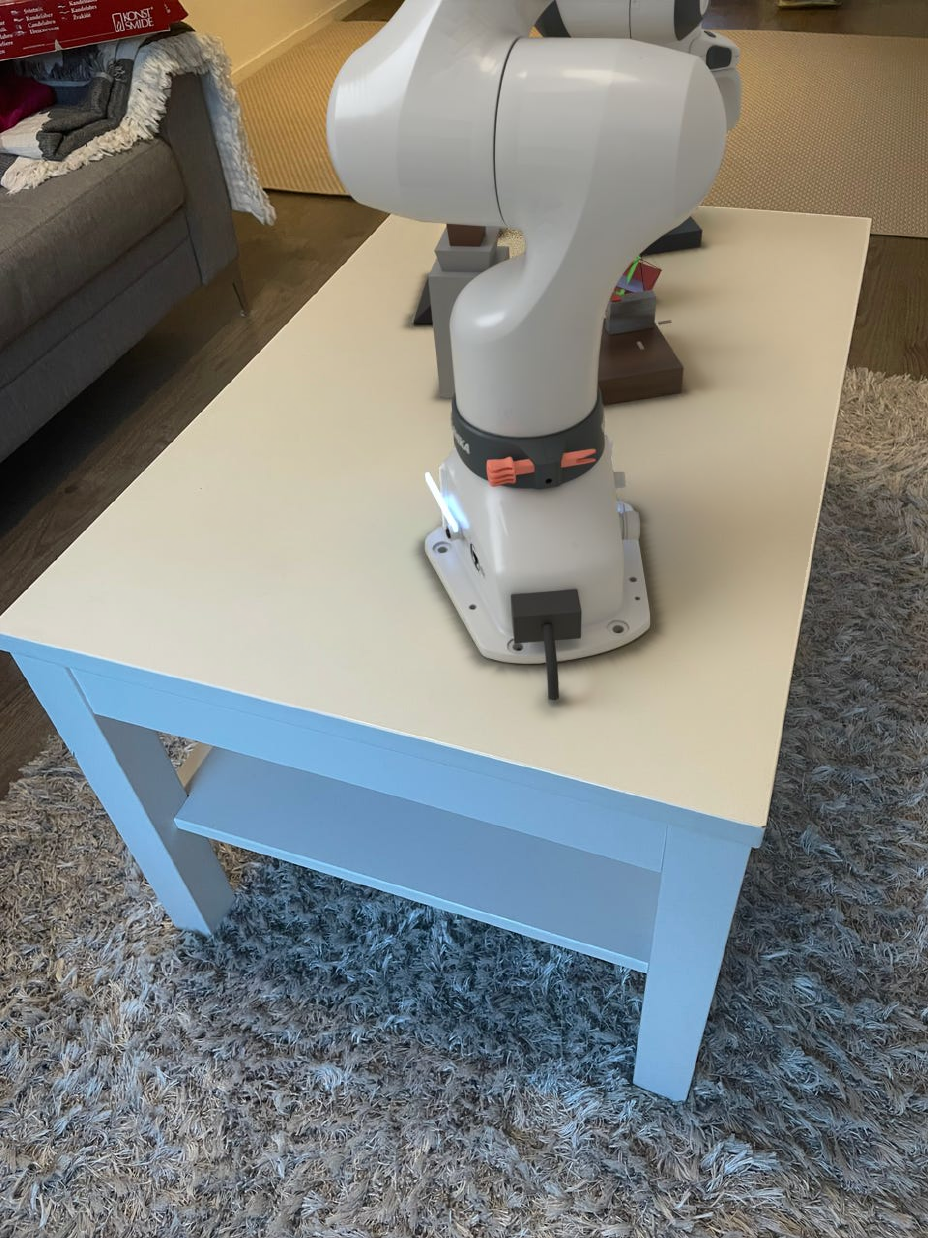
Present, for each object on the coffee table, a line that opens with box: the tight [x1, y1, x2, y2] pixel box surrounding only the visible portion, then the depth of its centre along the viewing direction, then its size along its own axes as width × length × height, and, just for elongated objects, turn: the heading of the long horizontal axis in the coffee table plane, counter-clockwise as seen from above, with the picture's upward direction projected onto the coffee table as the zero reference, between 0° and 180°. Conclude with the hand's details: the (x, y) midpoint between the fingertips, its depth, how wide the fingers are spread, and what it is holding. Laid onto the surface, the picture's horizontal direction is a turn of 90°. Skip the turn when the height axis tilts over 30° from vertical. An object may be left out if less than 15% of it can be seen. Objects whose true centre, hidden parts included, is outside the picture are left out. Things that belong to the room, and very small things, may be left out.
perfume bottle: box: [427, 224, 511, 399], centre depth 97 cm, size 7×7×18 cm
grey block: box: [605, 289, 658, 335], centre depth 102 cm, size 5×2×4 cm, turn 100°
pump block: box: [640, 215, 703, 257], centre depth 124 cm, size 12×10×4 cm
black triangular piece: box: [411, 257, 437, 327], centre depth 115 cm, size 12×7×5 cm, turn 173°
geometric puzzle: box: [612, 251, 663, 295], centre depth 111 cm, size 7×7×8 cm
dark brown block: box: [598, 317, 685, 406], centre depth 103 cm, size 14×12×3 cm
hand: (651, 175), depth 120 cm, fingers closed
